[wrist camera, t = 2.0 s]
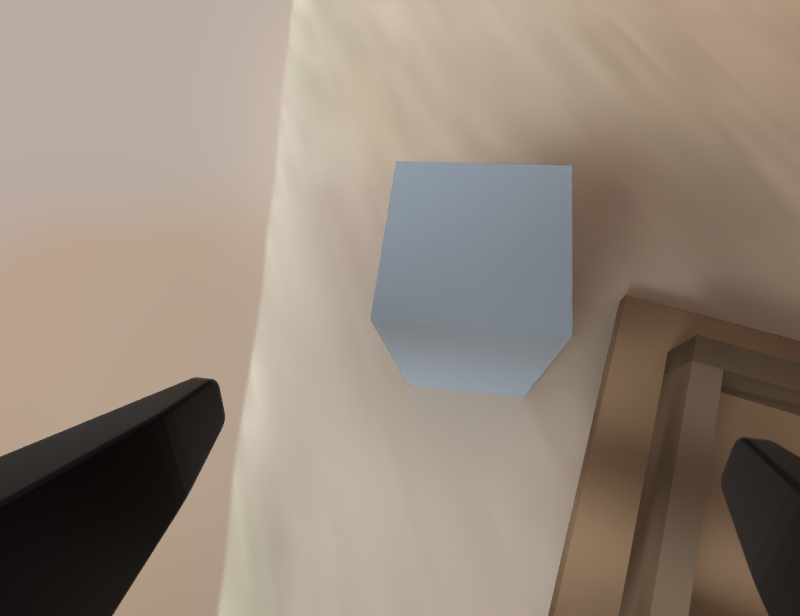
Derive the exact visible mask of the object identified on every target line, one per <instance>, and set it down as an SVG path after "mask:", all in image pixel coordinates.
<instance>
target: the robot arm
mask: <svg viewBox="0 0 800 616" xmlns="http://www.w3.org/2000/svg"><path fill="white" fill-rule="evenodd" d="M224 420H225V413H224V407H223V402H222V398H221V393H220V388H219V385H218V383H217V382H216V381H215V380H214V379H208V378H199V377H196V378H191V379H189V380H187V381H184V382H182V383H179V384H177V385H174V386H172V387H169V388H167V389H165V390H162V391H160V392H157V393H155V394H153V395H150V396H148V397H145V398H142V399H140V400H138V401H135V402H133V403H130V404H128V405H125V406H123V407H121V408H118V409H116V410H113V411H111V412H109V413H106V414H104V415H101V416H99V417H96V418H94V419H91V420H89V421H86V422H84V423H81V424H79V425H77V426H74V427H72V428H70V429H67V430H64V431H62V432H60V433H57V434H55V435H52V436H50V437H47V438H45V439H42V440H40V441H38V442H35V443H33V444H30V445H28V446H25V447H23V448H20V449H18V450H16V451H13V452H11V453H8V454H6V455H3V456H1V457H0V616H112V615H113V614H114V612H115V611H116V609H117V607H118V606H119V604H120V603H121V601H122V600H123V598H124V597H125V595H126V593H127V592H128V590H129V589H130V587H131V585H132V584H133V582H134V581H135V579H136V578H137V576H138V574H139V573H140V571H141V570H142V568H143V566H144V565H145V563H146V562H147V560H148V558H149V557H150V555H151V554H152V552H153V551H154V549H155V547H156V546H157V544H158V543H159V541H160V540H161V538H162V536H163V535H164V533H165V532H166V530H167V528H168V527H169V525H170V524H171V522H172V521H173V519H174V517H175V516H176V514H177V513H178V511H179V509H180V508H181V506H182V504H183V503H184V501H185V499H186V498H187V496H188V494H189V492H190V490H191V489H192V487H193V485H194V483H195V481H196V479H197V477H198V475H199V473H200V471H201V469H202V467H203V465H204V463H205V461H206V459H207V457H208V455H209V453H210V451H211V449H212V447H213V445H214V443H215V441H216V439H217V437H218V435H219V433H220V431H221V429H222V427H223V424H224ZM721 489H722V493H723V496H724V499H725V501H726V504H727V507H728V510H729V513H730V516H731V519H732V522H733V525H734V527H735V530H736V533H737V536H738V539H739V542H740V545H741V548H742V550H743V553H744V556H745V559H746V562H747V565H748V568H749V571H750V573H751V576H752V579H753V581H754V584H755V586H756V589H757V591H758V593H759V596H760V598H761V600H762V603H763V605H764V607H765V609H766V611H767V614H768V616H800V457H799V456H797V455H795V454H794V453H792V452H790V451H789V450H787V449H785V448H784V447H782V446H780V445H778V444H777V443H775V442H773V441H771V440H767V439H759V438H749V437H742V438H739V439H737V440H736V441H735V443H734V445H733V447H732V450H731V452H730V455H729V457H728V459H727V462H726V464H725V467H724V469H723V472H722V475H721Z"/></svg>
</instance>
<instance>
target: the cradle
mask: <svg viewBox="0 0 800 616" xmlns="http://www.w3.org/2000/svg"><path fill="white" fill-rule="evenodd" d="M742 437H749V438H759V439H767V440H771V441H773V442H775V443H777V444H778V445H780V446H782V447H784V448H785V449H787V450H789V451H790V452H792V453H794V454H795V455H797V456H799V457H800V341H796V340H792V339H789V338H785V337H781V336H777V335H773V334H770V333H766V332H762V331H758V330H755V329H751V328H747V327H743V326H740V325H736V324H732V323H728V322H724V321H721V320H717V319H713V318H709V317H706V316H702V315H698V314H694V313H691V312H687V311H683V310H679V309H675V308H672V307H668V306H664V305H660V304H657V303H653V302H649V301H645V300H642V299H638V298H634V297H630V296H625V297H624V298H623V299H622V300H621V301H620V304H619V308H618V312H617V317H616V321H615V326H614V330H613V334H612V339H611V343H610V348H609V352H608V356H607V361H606V365H605V369H604V374H603V378H602V383H601V387H600V391H599V396H598V400H597V405H596V409H595V413H594V418H593V422H592V427H591V431H590V435H589V440H588V444H587V448H586V453H585V457H584V462H583V466H582V470H581V475H580V479H579V484H578V488H577V492H576V497H575V501H574V505H573V510H572V514H571V519H570V523H569V527H568V532H567V536H566V541H565V545H564V549H563V554H562V558H561V563H560V567H559V571H558V576H557V580H556V584H555V589H554V593H553V598H552V602H551V606H550V611H549V615H548V616H768V614H767V611H766V609H765V607H764V605H763V603H762V600H761V598H760V596H759V593H758V591H757V589H756V586H755V584H754V581H753V579H752V576H751V573H750V571H749V568H748V565H747V562H746V559H745V556H744V553H743V550H742V548H741V545H740V542H739V539H738V536H737V533H736V530H735V527H734V525H733V522H732V519H731V516H730V513H729V510H728V507H727V504H726V501H725V499H724V496H723V493H722V489H721V475H722V472H723V469H724V467H725V464H726V462H727V459H728V457H729V455H730V452H731V450H732V447H733V445H734V443H735V441H736V440H737V439H739V438H742Z"/></svg>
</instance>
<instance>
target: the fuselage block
mask: <svg viewBox="0 0 800 616" xmlns="http://www.w3.org/2000/svg"><path fill="white" fill-rule="evenodd" d="M371 321H372V323H373V324H374V326H375V328H376V329H377V331H378V333H379V335H380V336H381V338H382V340H383V342H384V343H385V345H386V347H387V349H388V350H389V352H390V354H391V356H392V357H393V359H394V361H395V363H396V364H397V366H398V368H399V370H400V371H401V373H402V375H403V377H404V378H405V380H406V382H407V383H408V385H411V386H420V387H429V388H438V389H448V390H457V391H466V392H476V393H485V394H494V395H504V396H513V397H522V398H523V397H524V396H525V395H526V394H527V392H528V391H529V390H530V389H531V387H532V386H533V385H534V384H535V382H536V381H537V380H538V379H539V377H540V376H541V375H542V374H543V372H544V371H545V370H546V369H547V367H548V366H549V365H550V364H551V362H552V361H553V360H554V359H555V357H556V356H557V355H558V354H559V353H560V351H561V350H562V349H563V348H564V346H565V345H566V344H567V343H568V341H569V340H570V339H571V338H572V336H573V330H572V165H534V164H491V163H447V162H404V161H396V166H395V172H394V178H393V184H392V191H391V197H390V203H389V209H388V215H387V221H386V228H385V234H384V240H383V246H382V252H381V259H380V265H379V271H378V277H377V283H376V290H375V296H374V302H373V308H372V314H371Z"/></svg>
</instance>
